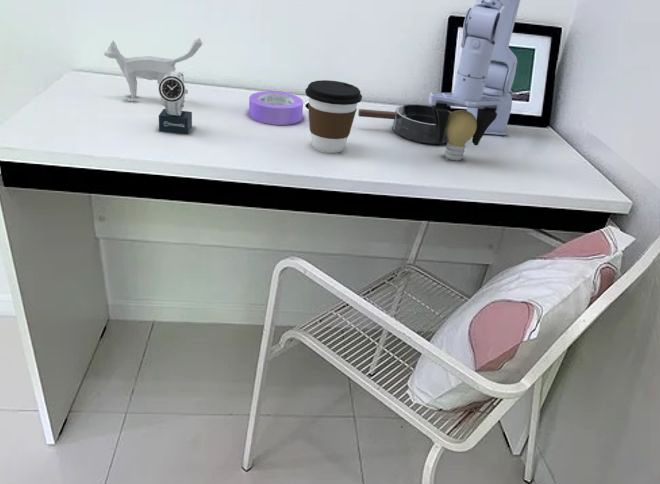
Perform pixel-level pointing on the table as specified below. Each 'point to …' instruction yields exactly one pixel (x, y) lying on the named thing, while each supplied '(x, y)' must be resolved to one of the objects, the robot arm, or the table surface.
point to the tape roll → (275, 108)
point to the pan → (417, 123)
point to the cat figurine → (146, 65)
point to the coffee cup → (331, 113)
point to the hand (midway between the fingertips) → (456, 142)
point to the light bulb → (459, 133)
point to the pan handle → (376, 114)
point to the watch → (174, 104)
